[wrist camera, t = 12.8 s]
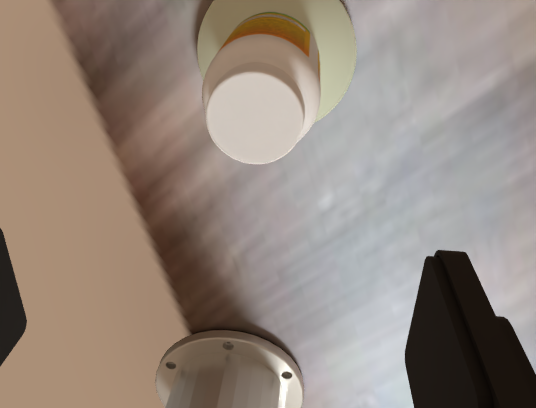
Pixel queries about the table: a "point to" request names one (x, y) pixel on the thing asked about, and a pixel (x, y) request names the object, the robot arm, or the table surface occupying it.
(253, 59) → the supplement bottle
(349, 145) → the table surface
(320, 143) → the table surface
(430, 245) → the table surface
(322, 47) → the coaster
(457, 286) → the robot arm
